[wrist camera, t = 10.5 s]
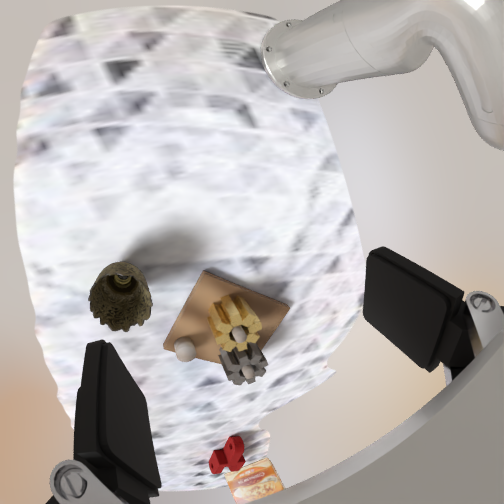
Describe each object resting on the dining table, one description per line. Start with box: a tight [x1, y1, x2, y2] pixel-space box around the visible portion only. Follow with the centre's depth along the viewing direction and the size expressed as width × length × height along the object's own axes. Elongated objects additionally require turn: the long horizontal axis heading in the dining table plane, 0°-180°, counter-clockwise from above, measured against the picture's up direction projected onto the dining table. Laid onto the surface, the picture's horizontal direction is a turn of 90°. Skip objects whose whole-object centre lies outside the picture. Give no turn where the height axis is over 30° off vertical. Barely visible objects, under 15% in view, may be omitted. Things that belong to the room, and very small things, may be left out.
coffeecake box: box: [224, 458, 286, 504], centre depth 60 cm, size 15×7×20 cm, turn 106°
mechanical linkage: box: [209, 436, 246, 474], centre depth 57 cm, size 16×7×5 cm, turn 161°
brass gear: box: [207, 295, 262, 352], centre depth 40 cm, size 7×7×5 cm
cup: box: [88, 262, 153, 332], centre depth 32 cm, size 8×7×8 cm
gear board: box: [163, 270, 290, 385], centre depth 41 cm, size 14×16×7 cm
